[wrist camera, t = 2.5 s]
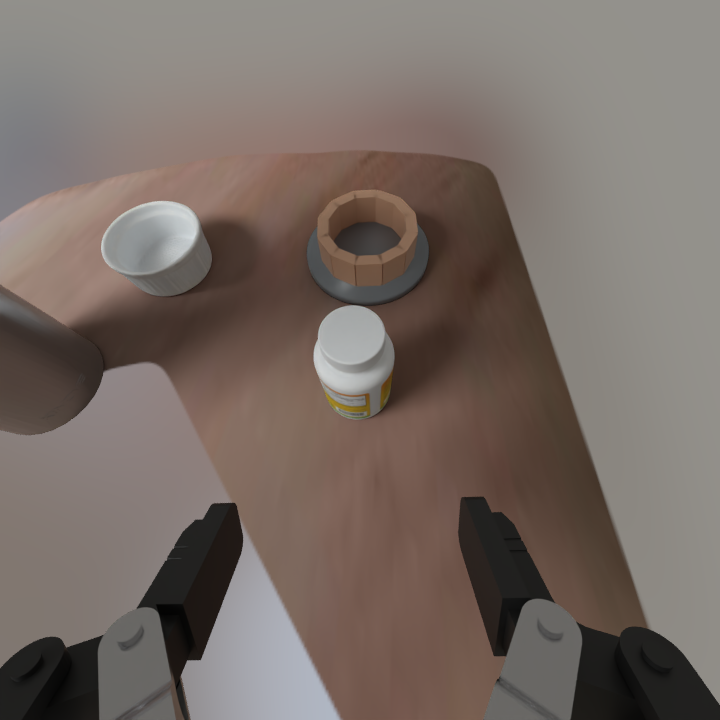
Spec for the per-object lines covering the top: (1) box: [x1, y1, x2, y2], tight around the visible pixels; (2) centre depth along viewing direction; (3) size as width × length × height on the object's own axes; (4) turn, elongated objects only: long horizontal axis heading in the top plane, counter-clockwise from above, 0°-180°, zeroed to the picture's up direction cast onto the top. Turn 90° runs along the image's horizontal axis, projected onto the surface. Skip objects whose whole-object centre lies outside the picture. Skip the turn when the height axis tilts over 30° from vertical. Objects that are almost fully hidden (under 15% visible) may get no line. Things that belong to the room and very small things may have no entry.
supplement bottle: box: [314, 305, 395, 419], centre depth 24 cm, size 5×5×10 cm
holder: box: [307, 190, 429, 306], centre depth 33 cm, size 12×12×4 cm
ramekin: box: [101, 201, 212, 296], centre depth 33 cm, size 9×9×4 cm
